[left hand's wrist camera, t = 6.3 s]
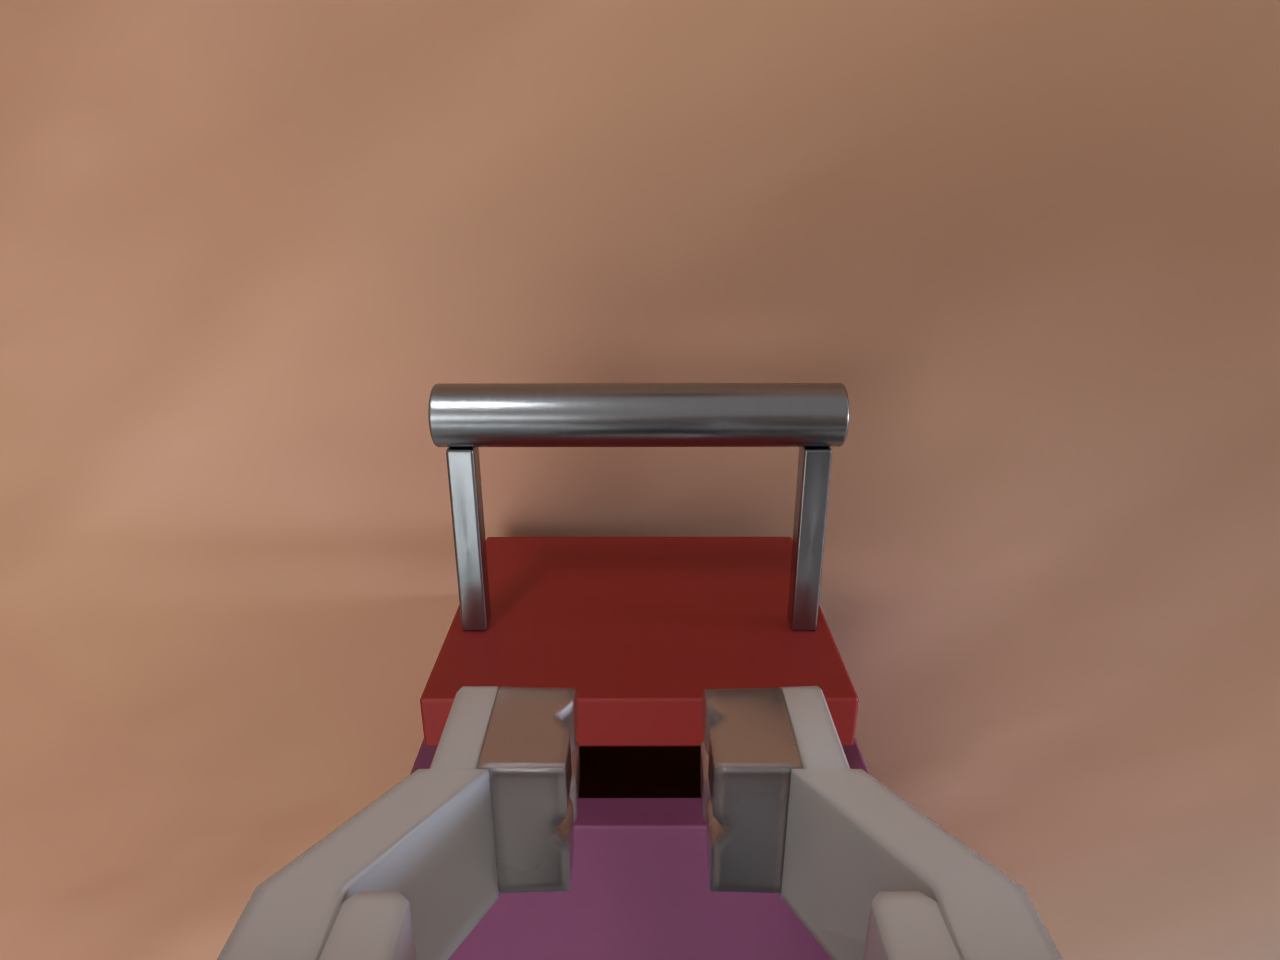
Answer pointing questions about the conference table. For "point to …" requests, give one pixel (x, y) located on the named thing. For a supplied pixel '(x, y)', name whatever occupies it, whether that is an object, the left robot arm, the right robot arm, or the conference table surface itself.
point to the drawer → (639, 576)
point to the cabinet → (640, 895)
